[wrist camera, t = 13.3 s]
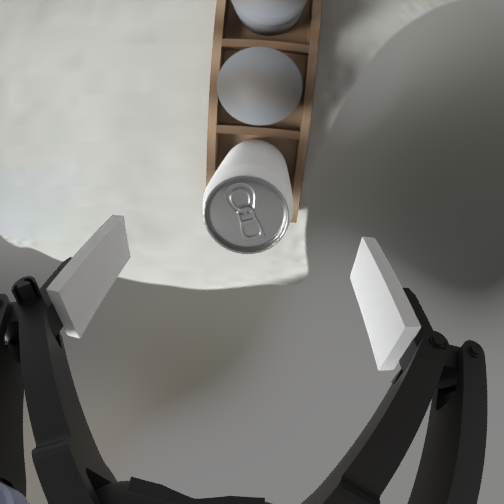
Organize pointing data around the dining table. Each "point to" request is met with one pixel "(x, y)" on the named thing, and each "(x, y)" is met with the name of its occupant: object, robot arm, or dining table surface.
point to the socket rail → (273, 132)
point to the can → (249, 198)
